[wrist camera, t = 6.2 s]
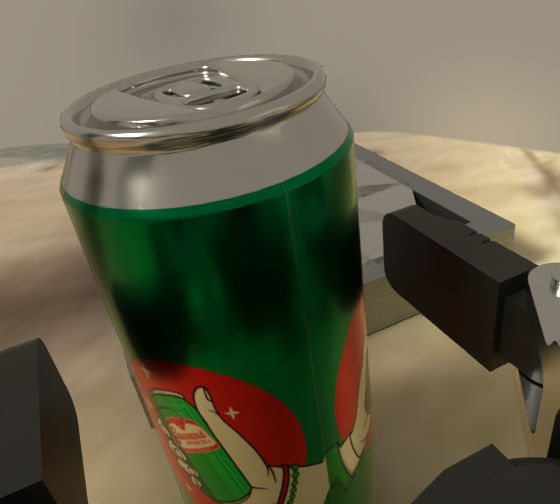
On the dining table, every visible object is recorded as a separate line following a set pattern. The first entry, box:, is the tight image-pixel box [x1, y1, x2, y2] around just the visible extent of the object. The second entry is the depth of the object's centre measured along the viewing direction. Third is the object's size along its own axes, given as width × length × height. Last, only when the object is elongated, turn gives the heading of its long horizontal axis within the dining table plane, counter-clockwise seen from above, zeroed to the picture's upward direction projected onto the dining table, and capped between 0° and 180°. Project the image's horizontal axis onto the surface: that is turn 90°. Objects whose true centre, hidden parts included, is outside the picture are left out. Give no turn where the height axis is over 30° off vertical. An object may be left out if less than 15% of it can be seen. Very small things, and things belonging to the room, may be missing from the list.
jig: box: [123, 143, 515, 428], centre depth 26 cm, size 16×16×4 cm
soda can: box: [60, 54, 378, 504], centre depth 11 cm, size 5×5×12 cm
